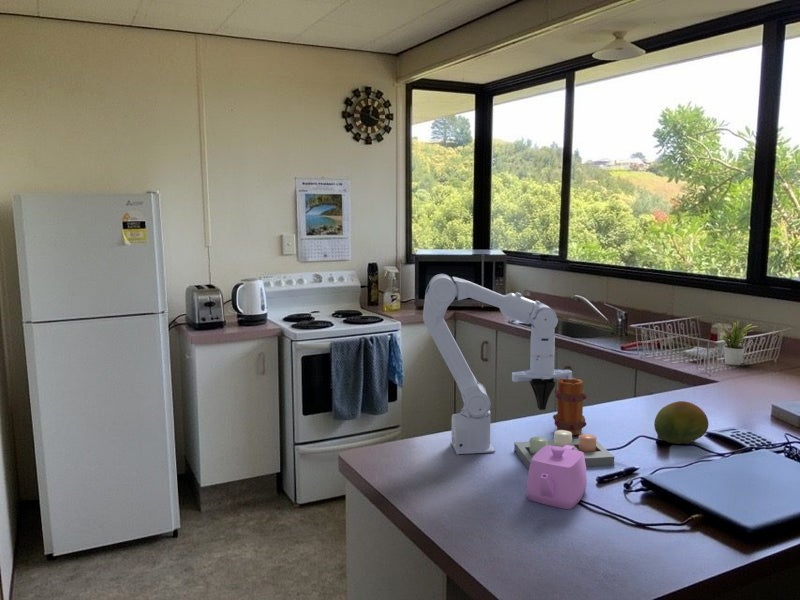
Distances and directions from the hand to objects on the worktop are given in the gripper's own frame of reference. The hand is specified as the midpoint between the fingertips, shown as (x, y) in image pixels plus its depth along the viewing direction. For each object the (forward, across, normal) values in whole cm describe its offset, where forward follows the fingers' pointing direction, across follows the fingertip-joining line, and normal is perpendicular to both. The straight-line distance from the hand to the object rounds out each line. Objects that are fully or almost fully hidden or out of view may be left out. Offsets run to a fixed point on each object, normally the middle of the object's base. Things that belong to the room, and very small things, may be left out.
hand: (541, 408), depth 157 cm
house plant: (+10, +96, +67) cm, 118 cm away
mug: (+10, +11, +11) cm, 19 cm away
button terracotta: (+9, +9, -7) cm, 15 cm away
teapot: (+10, -5, -26) cm, 28 cm away
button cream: (+8, +3, -7) cm, 11 cm away
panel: (+10, +3, -7) cm, 12 cm away
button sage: (+10, -3, -7) cm, 12 cm away
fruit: (+10, +35, -2) cm, 37 cm away
